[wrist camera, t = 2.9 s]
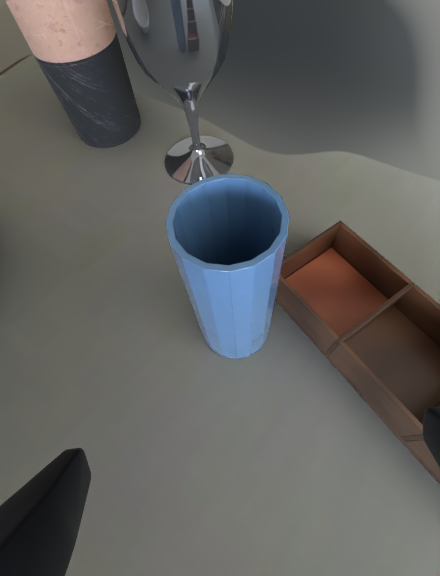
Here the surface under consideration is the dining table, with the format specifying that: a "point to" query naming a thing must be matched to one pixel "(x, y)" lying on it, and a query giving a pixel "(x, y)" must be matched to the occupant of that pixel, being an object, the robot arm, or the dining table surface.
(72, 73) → the travel mug
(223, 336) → the tumbler
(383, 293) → the caddy
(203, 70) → the wine glass
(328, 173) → the dining table surface
